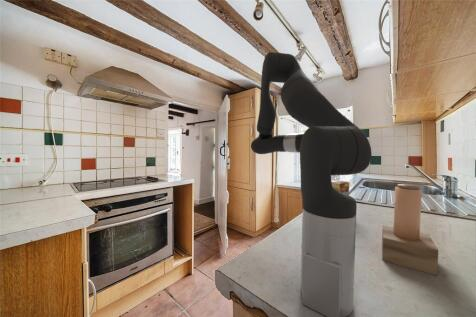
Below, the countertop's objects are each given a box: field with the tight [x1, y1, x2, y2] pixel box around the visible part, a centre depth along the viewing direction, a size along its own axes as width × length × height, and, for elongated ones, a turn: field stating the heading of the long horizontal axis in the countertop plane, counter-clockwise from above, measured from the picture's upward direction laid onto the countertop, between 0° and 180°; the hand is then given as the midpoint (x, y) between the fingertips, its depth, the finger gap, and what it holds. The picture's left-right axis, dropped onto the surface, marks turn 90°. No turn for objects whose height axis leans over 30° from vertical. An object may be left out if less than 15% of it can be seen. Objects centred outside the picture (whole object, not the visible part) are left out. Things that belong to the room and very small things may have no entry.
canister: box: [393, 183, 423, 241], centre depth 49 cm, size 5×5×14 cm
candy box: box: [331, 180, 350, 196], centre depth 82 cm, size 9×4×15 cm, turn 123°
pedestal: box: [381, 225, 439, 276], centre depth 49 cm, size 10×10×6 cm
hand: (344, 141), depth 63 cm, fingers open, 8 cm apart
